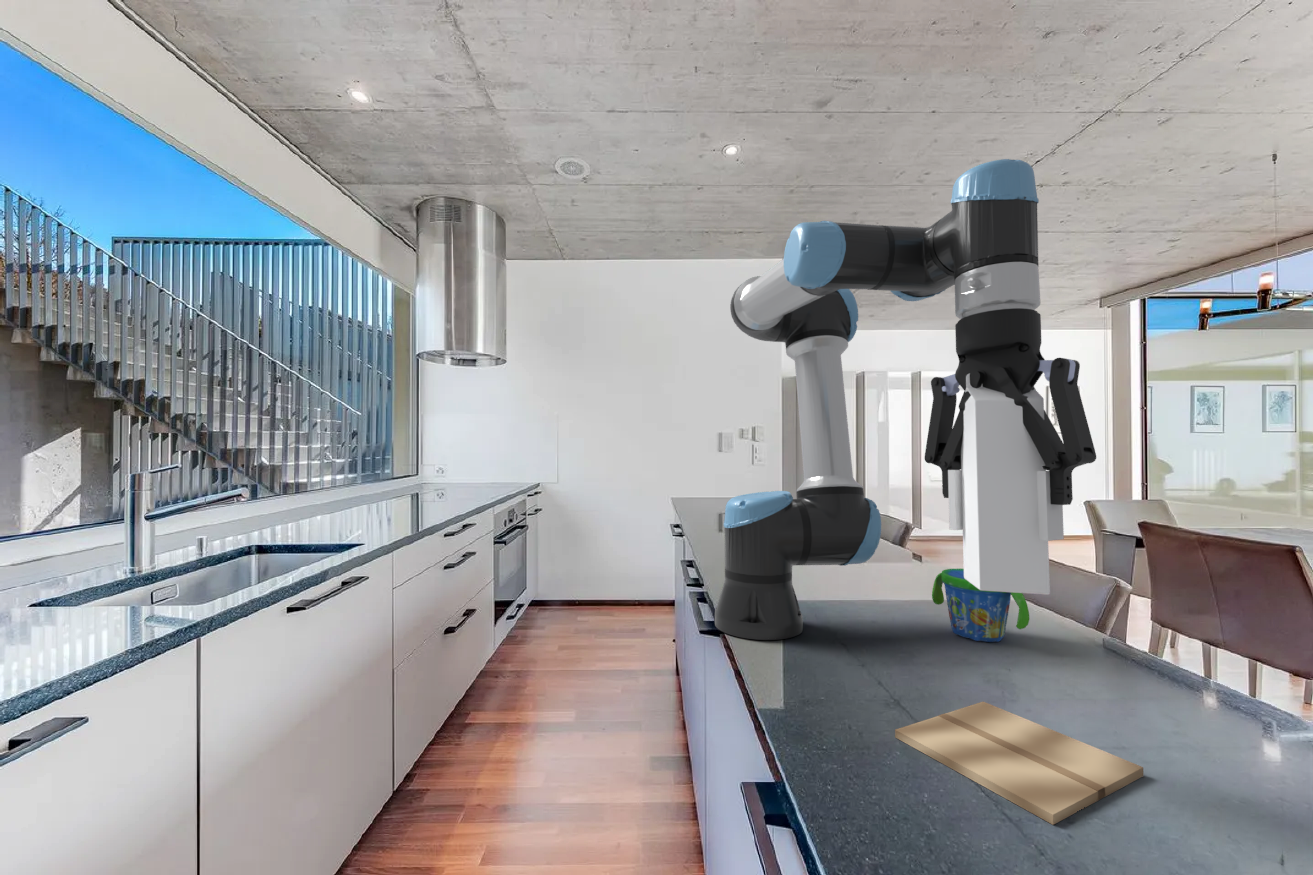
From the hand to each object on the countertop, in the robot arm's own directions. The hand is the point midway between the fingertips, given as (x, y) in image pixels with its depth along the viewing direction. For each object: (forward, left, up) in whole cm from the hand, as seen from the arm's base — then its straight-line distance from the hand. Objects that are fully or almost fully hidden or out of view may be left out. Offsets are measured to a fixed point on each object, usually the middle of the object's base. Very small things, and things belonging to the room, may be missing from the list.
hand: (1002, 533), depth 55 cm
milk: (0, 0, -6) cm, 6 cm away
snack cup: (-23, +32, -22) cm, 45 cm away
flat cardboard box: (+1, 0, -22) cm, 22 cm away
